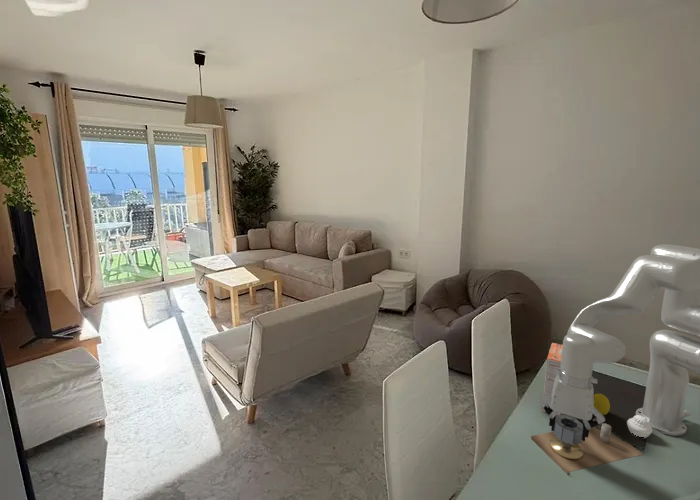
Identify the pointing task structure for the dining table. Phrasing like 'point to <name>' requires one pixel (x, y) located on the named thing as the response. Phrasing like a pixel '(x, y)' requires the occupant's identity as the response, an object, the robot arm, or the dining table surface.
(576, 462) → the board
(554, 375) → the cracker box
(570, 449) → the hub
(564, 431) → the ring
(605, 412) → the lemon
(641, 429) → the muffin
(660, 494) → the dining table surface
